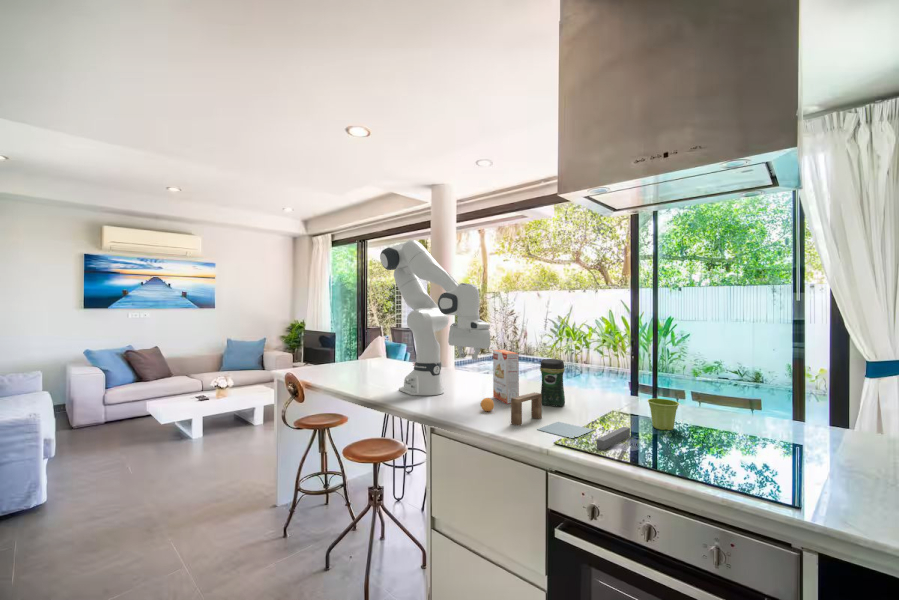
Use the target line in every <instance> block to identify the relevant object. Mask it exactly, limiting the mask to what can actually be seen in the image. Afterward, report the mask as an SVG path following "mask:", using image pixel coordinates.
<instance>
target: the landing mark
mask: <svg viewBox="0 0 899 600" xmlns="http://www.w3.org/2000/svg"><path fill="white" fill-rule="evenodd" d="M536 430H537V431H539V432H543V433H548V434H552V435H556V436H559V437H562V438H567V437H569V438H568V439H571V438H574V436H575V437H578V438H579V436H580V437H582V436H584V434H585V435H586V433H587V434H589V433H591V432H594V431H595V429H592V428H589V427H588V428H587V427H583V426H579V425H574V424H570V423H567V422H566V423H565V422H561V421H556V422H553V423H551V424H548V425H545V426H542V427H539V428H536ZM581 435H582V436H581Z"/></svg>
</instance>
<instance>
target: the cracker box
mask: <svg viewBox="0 0 899 600" xmlns="http://www.w3.org/2000/svg"><path fill="white" fill-rule="evenodd" d="M519 357H520V355H519V352H514V351H510V350H507V349H494V350H492V371H493V372H492V373H493V377H492V379H493V380H492V382H493V383H492V391H493V393H492V394H493V395H492V396H493V398H495V399H496V400H499V401H500V400H501V402H502V401H503V402H502V403H504V404H506V405H511V398H514V397H518V396H520V395H519V394H520V389H519V387H520V384H519V383H520V381H519V380H520V379H519V378H520V376H519V375H520V373H519V369H520V366H519V364H520V363H519V361H520V359H519Z"/></svg>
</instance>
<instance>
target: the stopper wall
mask: <svg viewBox="0 0 899 600" xmlns="http://www.w3.org/2000/svg"><path fill="white" fill-rule="evenodd" d="M630 436H631V428H630V427H627V426H622V427H620V428H618V429H616V430H613V431H611V432H609V433H606V434H605V435H603V436H600V437H599V438H597V439H596V449H599V450H603V451H604V450H607V449H608V448H611V447H613V446H615V445H616V444H618V443H620V442H621V441H623V440H626V439H628V438H629V437H630Z"/></svg>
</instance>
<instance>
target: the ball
mask: <svg viewBox="0 0 899 600" xmlns="http://www.w3.org/2000/svg"><path fill="white" fill-rule="evenodd" d="M480 407H481V409H482V410H483V411H484V412H487V411H488V412H491V411H492V410H493V409H494V408H495V403H494V400H493V399H492V398H489V397H486V398H483V399H482V400H481V402H480Z"/></svg>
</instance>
